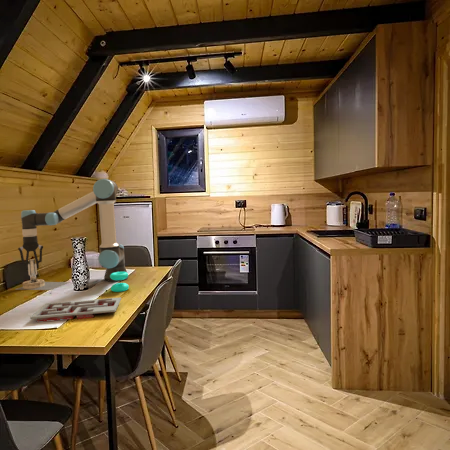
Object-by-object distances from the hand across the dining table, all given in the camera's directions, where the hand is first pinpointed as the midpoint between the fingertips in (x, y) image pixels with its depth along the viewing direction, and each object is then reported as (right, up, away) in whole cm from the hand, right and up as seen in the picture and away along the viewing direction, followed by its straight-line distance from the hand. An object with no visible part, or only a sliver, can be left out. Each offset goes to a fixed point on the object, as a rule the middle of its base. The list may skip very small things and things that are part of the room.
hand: (32, 274), depth 204 cm
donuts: (+56, -8, -9) cm, 57 cm away
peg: (0, -6, 0) cm, 6 cm away
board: (+6, -9, +2) cm, 10 cm away
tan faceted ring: (0, -7, +1) cm, 7 cm away
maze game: (+48, -11, -47) cm, 68 cm away
